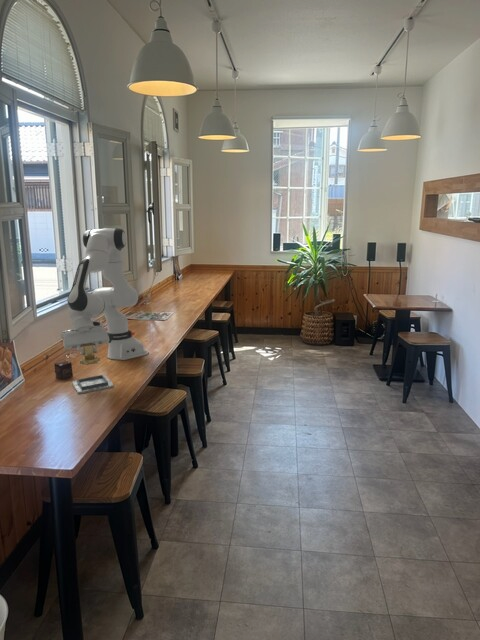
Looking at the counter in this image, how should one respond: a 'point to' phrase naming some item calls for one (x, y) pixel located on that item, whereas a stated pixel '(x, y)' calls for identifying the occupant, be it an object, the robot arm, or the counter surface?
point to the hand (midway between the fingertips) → (89, 353)
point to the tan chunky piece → (89, 355)
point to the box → (63, 369)
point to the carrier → (92, 384)
